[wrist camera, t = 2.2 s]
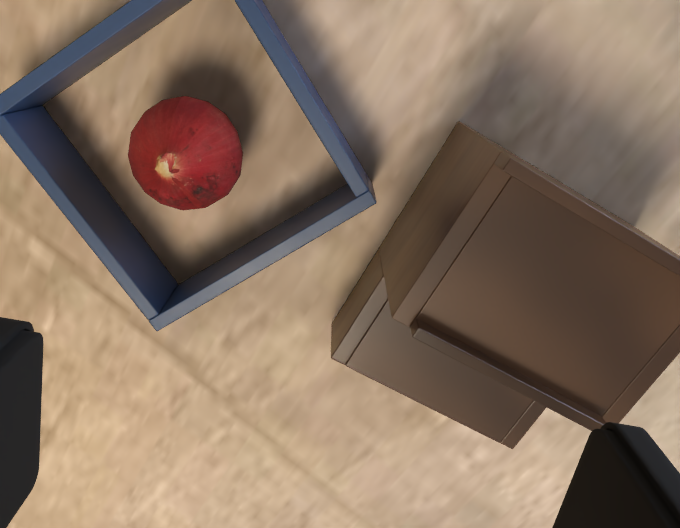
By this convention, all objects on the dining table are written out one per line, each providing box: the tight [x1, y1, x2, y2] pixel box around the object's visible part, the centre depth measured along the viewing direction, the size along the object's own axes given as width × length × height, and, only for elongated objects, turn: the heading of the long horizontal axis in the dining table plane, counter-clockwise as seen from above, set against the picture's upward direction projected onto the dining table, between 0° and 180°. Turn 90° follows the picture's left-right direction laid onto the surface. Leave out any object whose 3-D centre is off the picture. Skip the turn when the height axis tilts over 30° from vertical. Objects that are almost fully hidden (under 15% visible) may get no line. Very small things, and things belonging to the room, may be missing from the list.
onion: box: [128, 96, 243, 210], centre depth 32 cm, size 6×6×8 cm
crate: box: [0, 0, 376, 331], centre depth 34 cm, size 15×15×4 cm
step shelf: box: [331, 121, 680, 449], centre depth 33 cm, size 15×13×12 cm
